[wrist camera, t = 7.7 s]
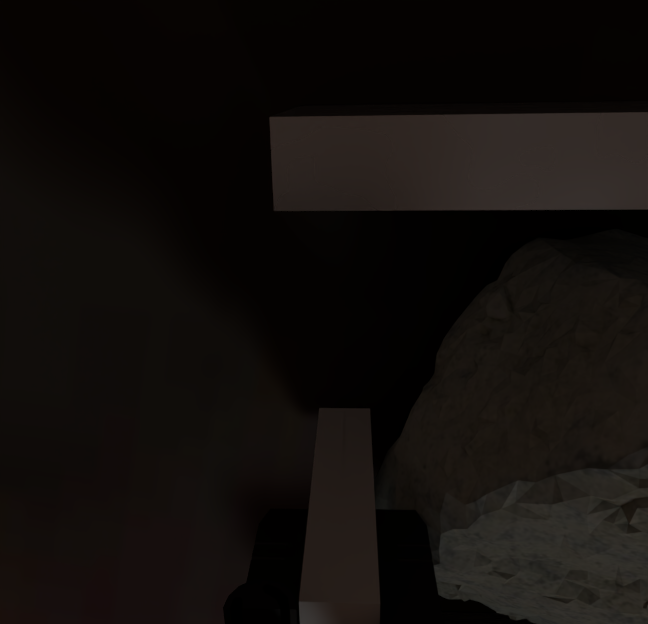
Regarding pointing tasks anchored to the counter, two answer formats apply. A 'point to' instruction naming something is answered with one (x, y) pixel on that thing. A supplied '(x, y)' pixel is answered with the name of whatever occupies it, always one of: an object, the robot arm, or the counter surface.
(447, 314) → the counter surface
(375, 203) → the gray open-sided box
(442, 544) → the decorative stone
